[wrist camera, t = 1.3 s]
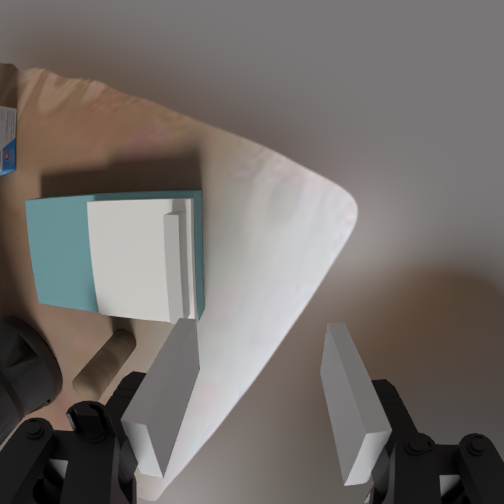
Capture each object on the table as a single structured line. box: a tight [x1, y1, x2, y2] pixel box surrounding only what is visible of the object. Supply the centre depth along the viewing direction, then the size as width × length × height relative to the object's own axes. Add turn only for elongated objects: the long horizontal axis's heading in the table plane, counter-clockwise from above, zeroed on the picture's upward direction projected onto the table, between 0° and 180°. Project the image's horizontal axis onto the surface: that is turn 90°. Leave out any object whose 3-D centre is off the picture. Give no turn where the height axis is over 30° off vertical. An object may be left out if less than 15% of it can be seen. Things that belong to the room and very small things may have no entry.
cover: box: [87, 198, 197, 324], centre depth 25 cm, size 10×11×3 cm
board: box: [25, 190, 205, 322], centre depth 29 cm, size 20×12×3 cm, turn 89°
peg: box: [73, 330, 136, 402], centre depth 28 cm, size 3×3×10 cm
